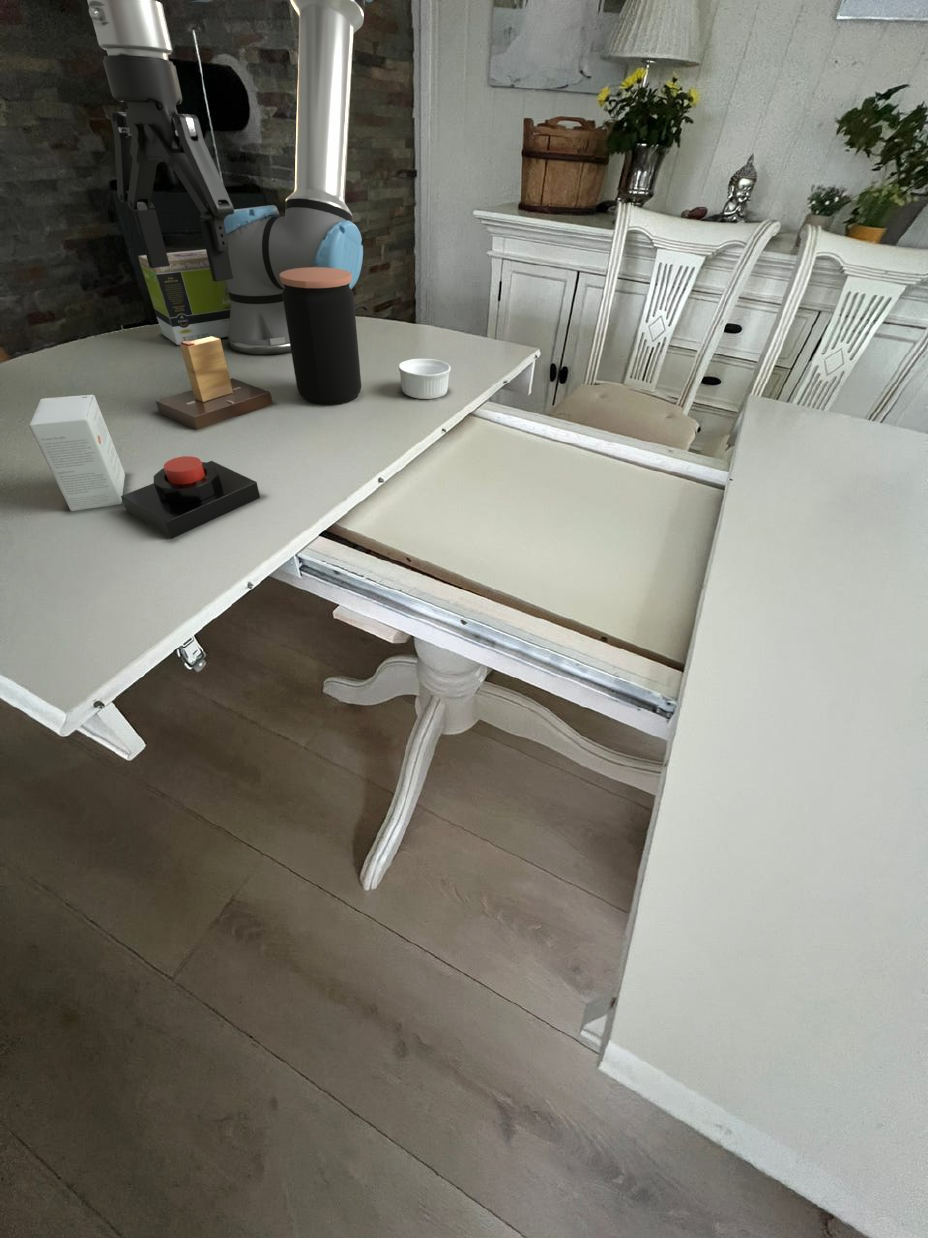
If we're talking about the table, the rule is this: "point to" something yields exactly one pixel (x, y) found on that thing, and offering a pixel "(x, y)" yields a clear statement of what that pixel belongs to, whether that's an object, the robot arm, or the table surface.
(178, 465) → the button
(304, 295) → the coffee jar
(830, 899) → the table surface
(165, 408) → the panel
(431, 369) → the ramekin
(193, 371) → the handle
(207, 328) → the tea box
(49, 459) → the small box
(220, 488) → the button block
